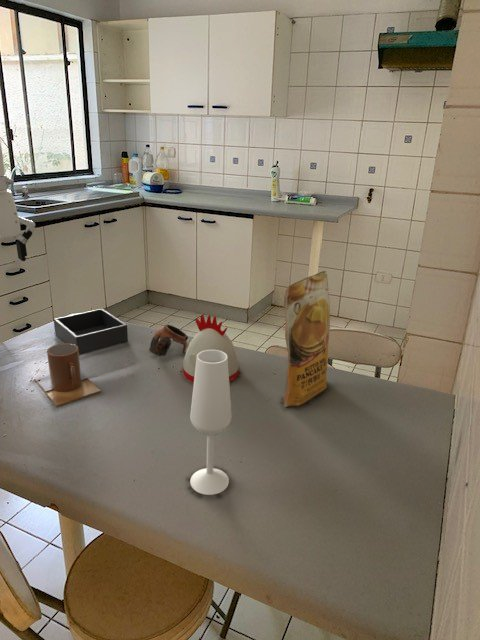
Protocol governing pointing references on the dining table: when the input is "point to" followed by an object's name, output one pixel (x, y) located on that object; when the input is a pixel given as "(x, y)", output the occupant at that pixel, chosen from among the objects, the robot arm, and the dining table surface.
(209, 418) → the champagne flute
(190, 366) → the kitchen timer
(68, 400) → the wooden flat board
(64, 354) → the brown mug
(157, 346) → the pottery mug
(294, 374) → the pancake mix bag
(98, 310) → the dark grey open box
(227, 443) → the dining table surface
